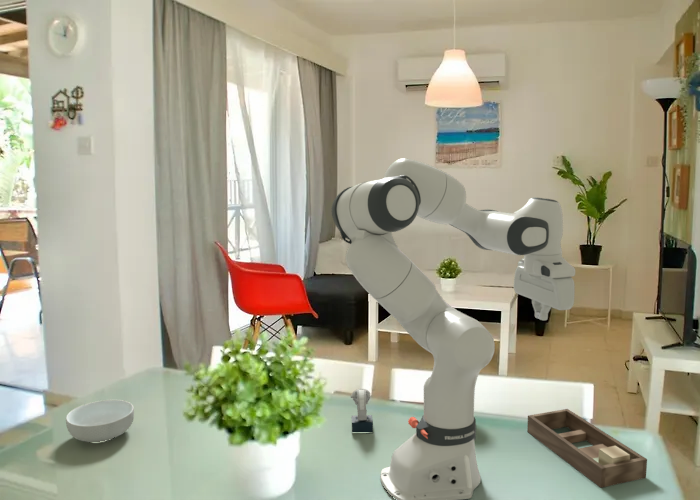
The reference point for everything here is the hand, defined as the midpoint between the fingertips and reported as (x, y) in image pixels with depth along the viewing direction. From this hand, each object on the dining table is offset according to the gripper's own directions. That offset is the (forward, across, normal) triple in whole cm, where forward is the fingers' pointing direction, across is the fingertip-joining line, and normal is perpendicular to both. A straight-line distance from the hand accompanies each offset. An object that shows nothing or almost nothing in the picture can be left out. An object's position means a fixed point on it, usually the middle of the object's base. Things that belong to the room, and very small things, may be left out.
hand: (541, 318), depth 151 cm
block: (+29, +21, +5) cm, 36 cm away
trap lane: (+31, +11, +5) cm, 33 cm away
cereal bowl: (+31, -39, -107) cm, 118 cm away
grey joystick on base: (+31, -19, -41) cm, 55 cm away
